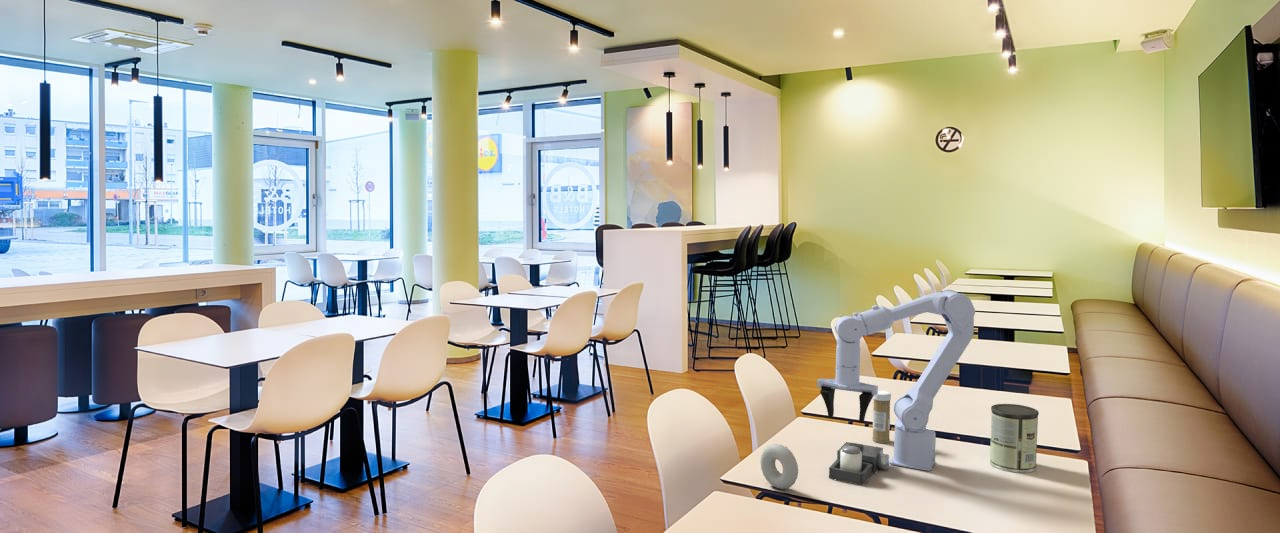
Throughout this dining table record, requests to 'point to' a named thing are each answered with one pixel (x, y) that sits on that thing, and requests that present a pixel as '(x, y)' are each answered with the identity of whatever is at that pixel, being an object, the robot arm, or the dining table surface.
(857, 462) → the white gray cylinder
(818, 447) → the dining table surface
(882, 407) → the sprinkles bottle
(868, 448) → the drawer
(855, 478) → the dark grey square tray
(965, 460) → the dining table surface
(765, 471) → the donut
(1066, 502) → the dining table surface
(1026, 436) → the coffee can
